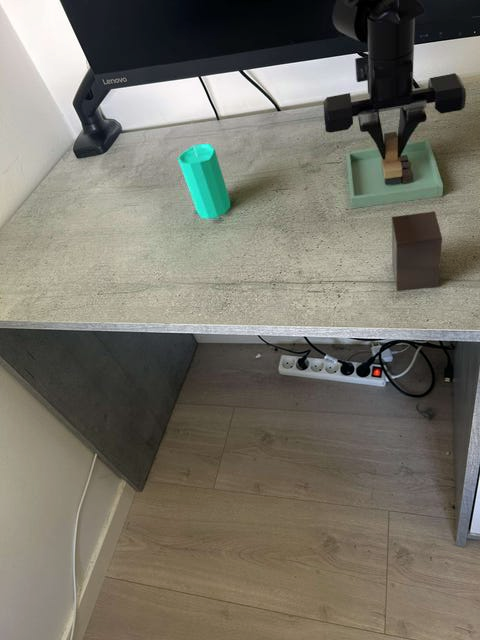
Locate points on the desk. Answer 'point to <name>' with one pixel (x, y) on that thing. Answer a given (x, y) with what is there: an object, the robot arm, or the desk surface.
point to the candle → (205, 180)
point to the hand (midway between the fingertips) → (391, 157)
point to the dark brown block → (416, 251)
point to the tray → (373, 191)
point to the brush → (391, 160)
